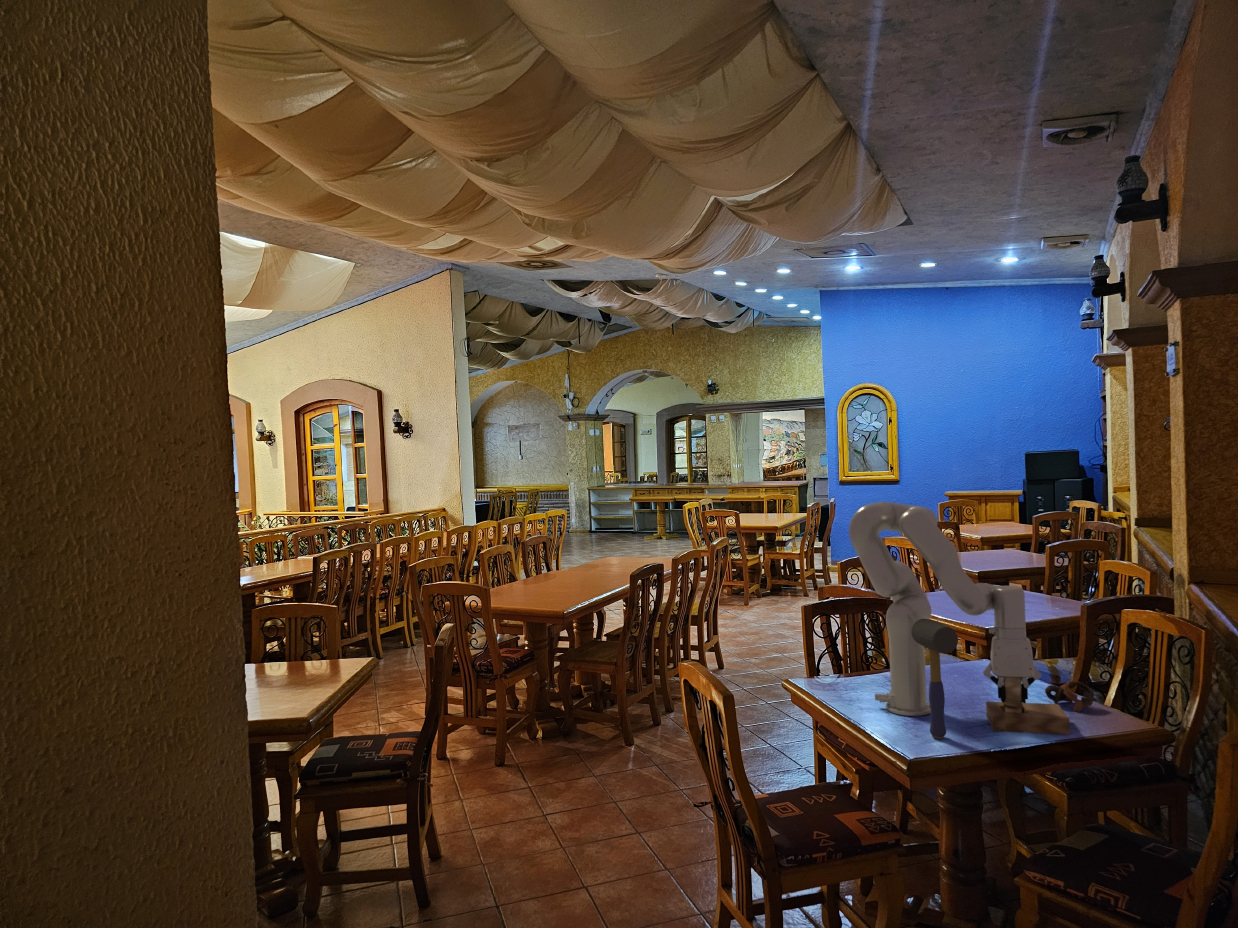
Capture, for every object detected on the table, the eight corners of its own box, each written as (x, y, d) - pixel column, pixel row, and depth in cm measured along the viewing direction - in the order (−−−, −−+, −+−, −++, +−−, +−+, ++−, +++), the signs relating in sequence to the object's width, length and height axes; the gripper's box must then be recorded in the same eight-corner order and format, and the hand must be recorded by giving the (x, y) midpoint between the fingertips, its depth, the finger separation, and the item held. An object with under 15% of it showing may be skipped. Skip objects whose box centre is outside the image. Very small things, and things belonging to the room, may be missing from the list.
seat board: (993, 730, 218) (992, 715, 218) (986, 715, 230) (985, 701, 230) (1069, 734, 213) (1069, 718, 213) (1058, 718, 225) (1058, 703, 225)
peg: (1005, 723, 221) (1003, 670, 221) (1002, 717, 225) (1001, 665, 225) (1024, 723, 220) (1022, 670, 220) (1021, 718, 224) (1019, 666, 224)
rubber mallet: (912, 731, 220) (908, 617, 220) (939, 728, 221) (935, 615, 221) (936, 746, 208) (932, 626, 208) (965, 744, 209) (960, 624, 209)
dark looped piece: (1081, 702, 240) (1092, 681, 236) (1089, 726, 232) (1100, 705, 228) (1037, 691, 242) (1048, 670, 238) (1043, 715, 234) (1054, 693, 230)
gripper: (977, 635, 221) (980, 704, 221) (1048, 636, 216) (1050, 706, 216) (974, 629, 228) (977, 696, 228) (1042, 630, 224) (1045, 698, 224)
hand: (1012, 700), depth 222 cm, fingers closed on peg, 4 cm apart
